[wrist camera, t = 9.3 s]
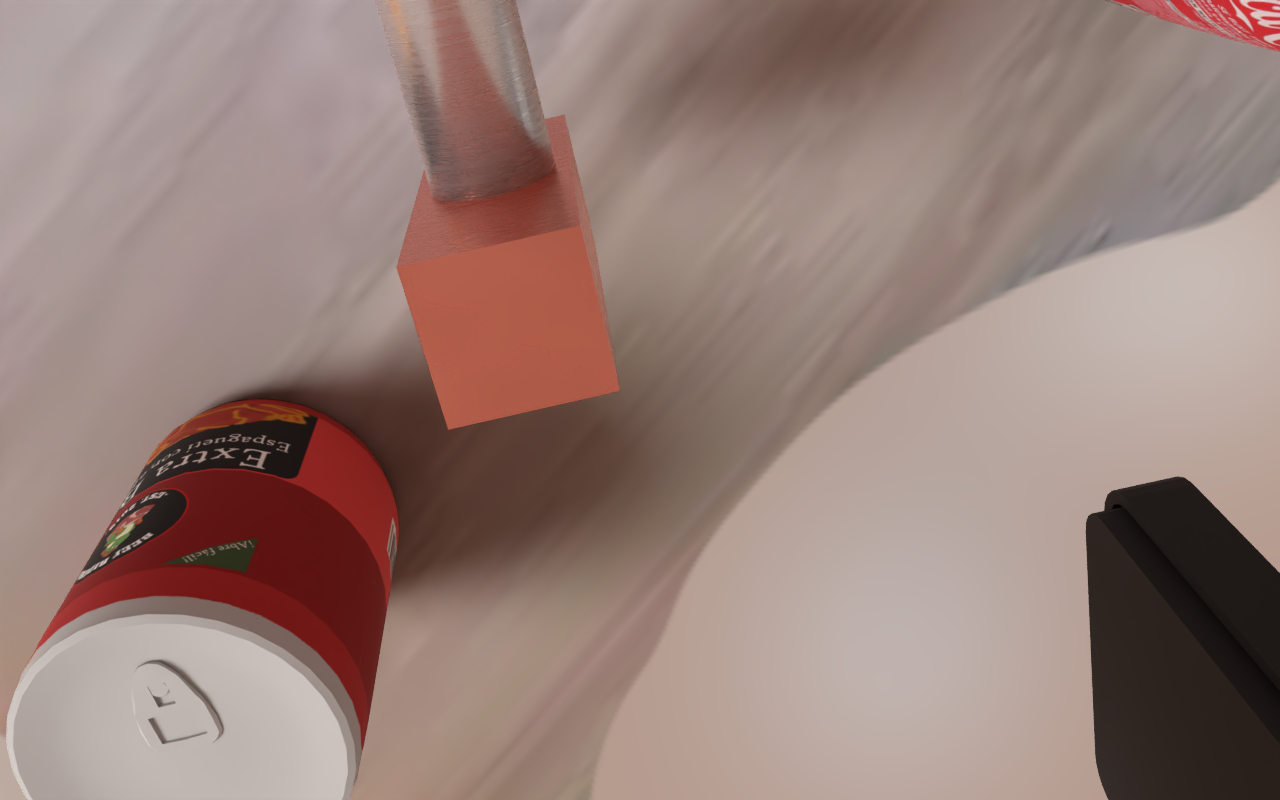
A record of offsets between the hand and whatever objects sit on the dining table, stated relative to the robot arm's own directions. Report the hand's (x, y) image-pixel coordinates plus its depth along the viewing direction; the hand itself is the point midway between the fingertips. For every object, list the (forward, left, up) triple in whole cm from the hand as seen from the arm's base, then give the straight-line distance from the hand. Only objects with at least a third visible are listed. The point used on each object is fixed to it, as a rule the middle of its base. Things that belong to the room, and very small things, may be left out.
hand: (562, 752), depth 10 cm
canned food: (+11, +10, -25) cm, 29 cm away
